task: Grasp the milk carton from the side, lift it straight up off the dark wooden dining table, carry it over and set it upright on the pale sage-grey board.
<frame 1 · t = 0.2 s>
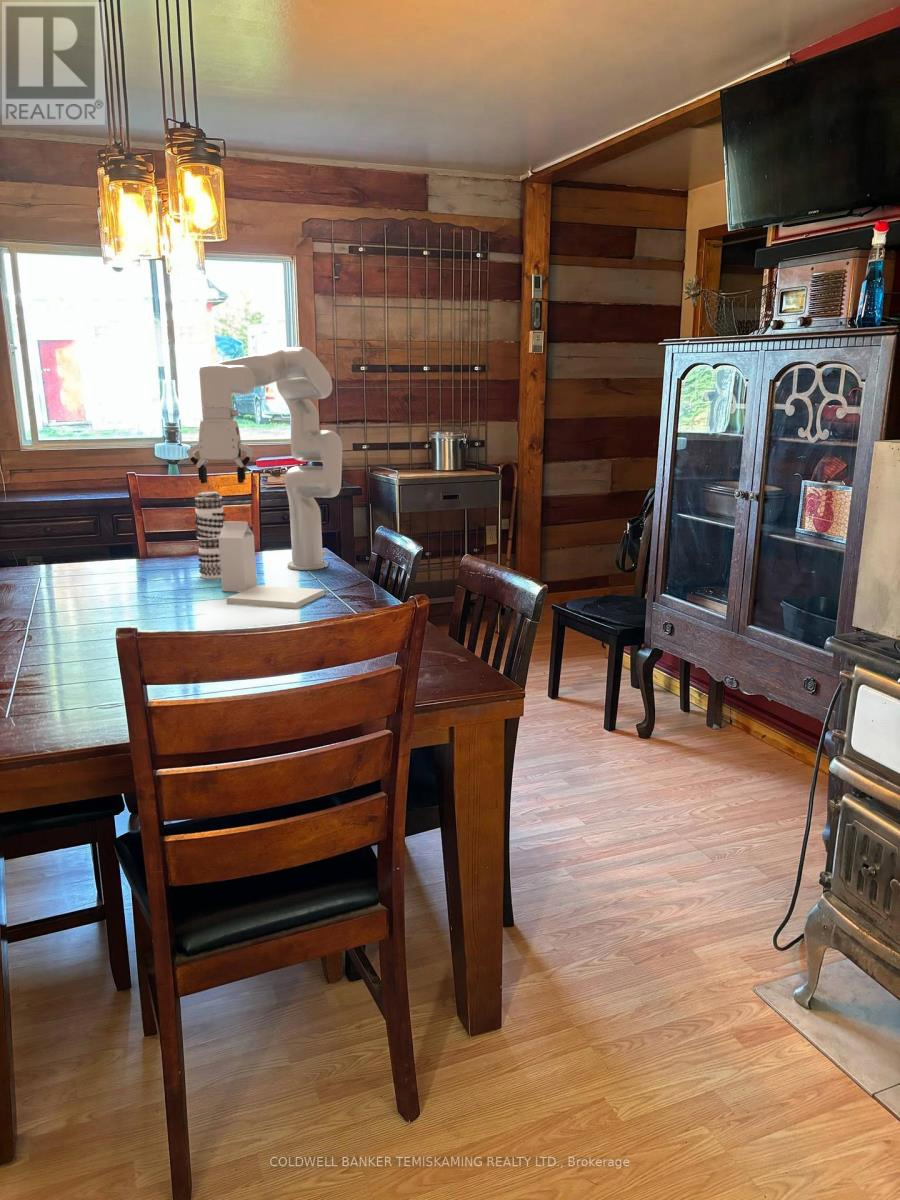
hand: (222, 482, 212), 30 cm above the table, tool pointing down, fingers open, 9 cm apart
serving board: (276, 599, 216), on the table
decorative candle: (214, 576, 247), on the table
milk carton: (239, 590, 228), on the table
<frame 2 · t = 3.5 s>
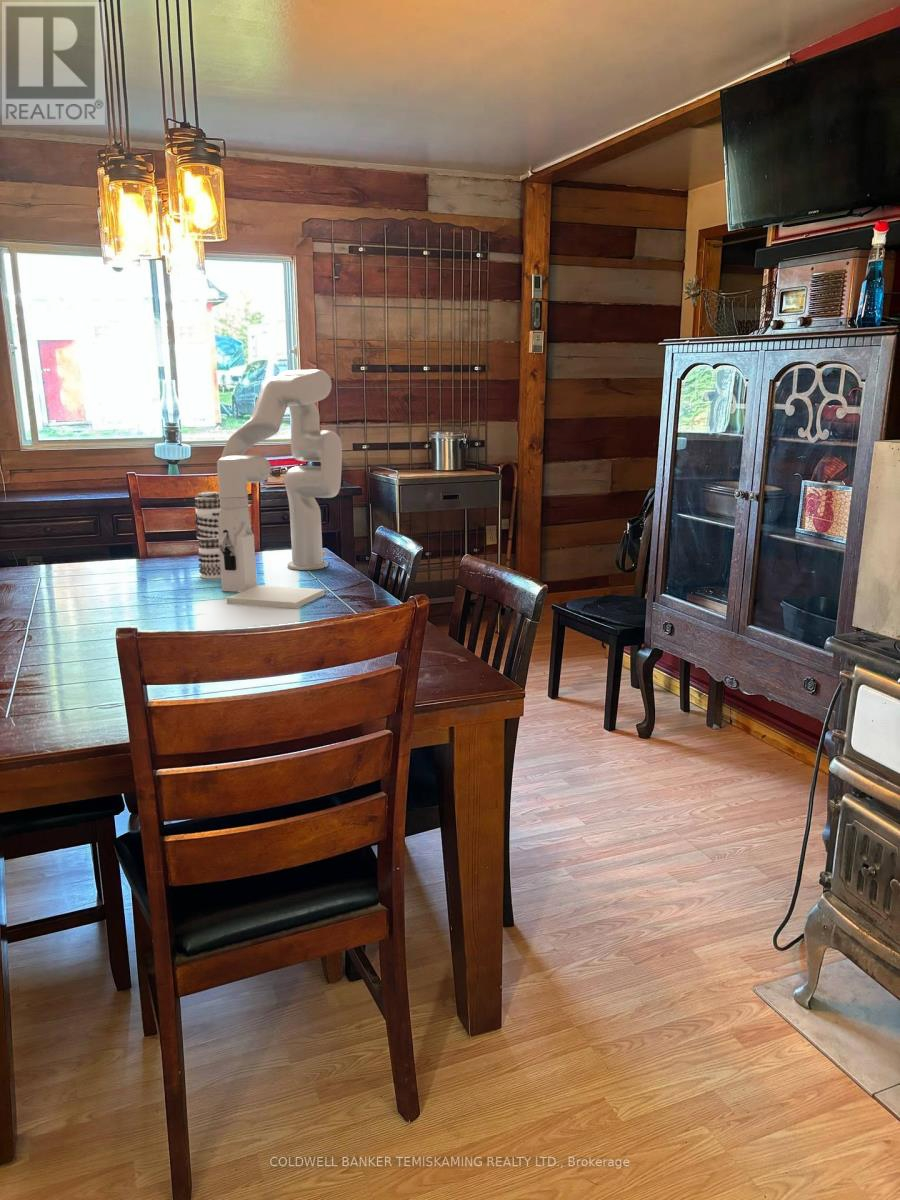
hand: (238, 566, 227), 6 cm above the table, tool pointing down, fingers closed on milk carton, 7 cm apart
milk carton: (239, 590, 228), on the table, touching gripper
everything else where it was.
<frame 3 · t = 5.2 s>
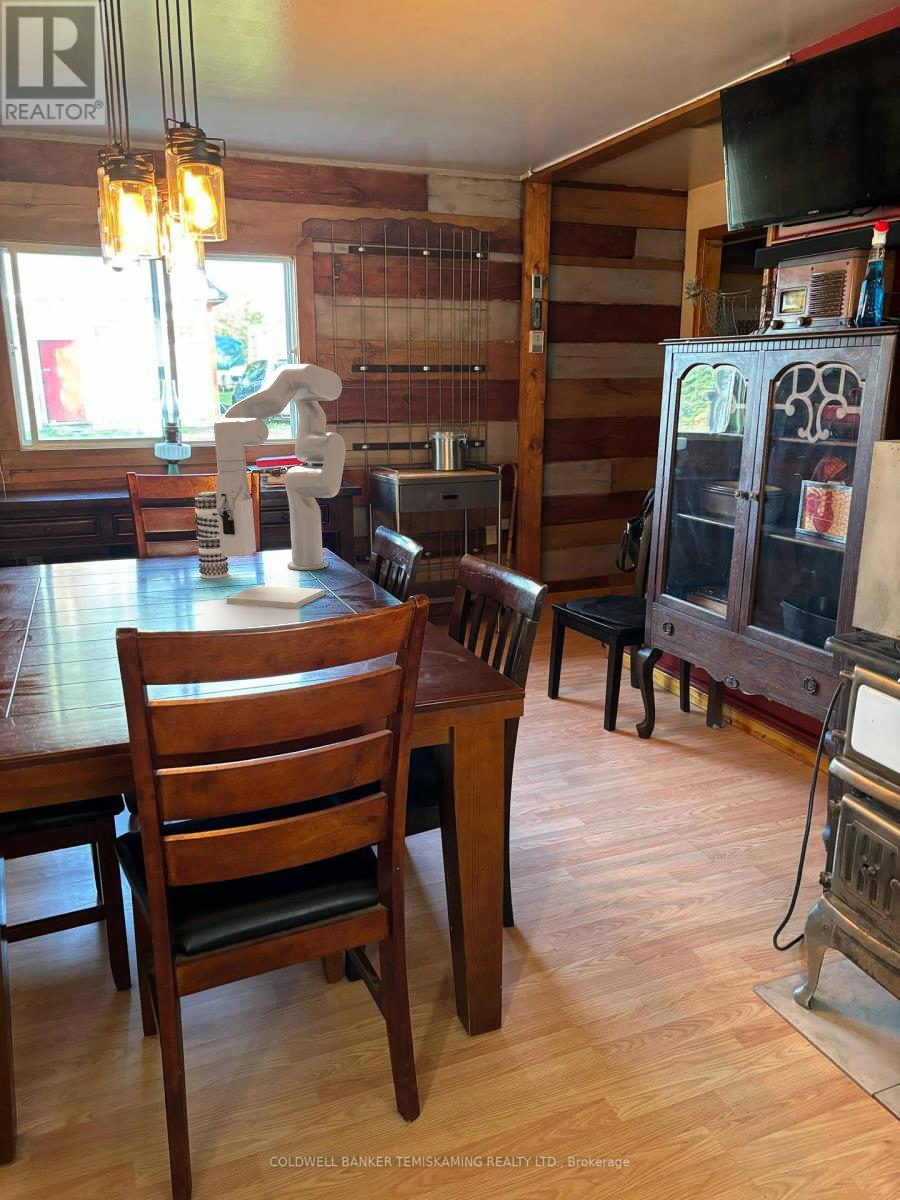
hand: (237, 531, 225), 16 cm above the table, tool pointing down, fingers closed on milk carton, 7 cm apart
milk carton: (238, 555, 226), point 10 cm above the table, touching gripper
everything else where it was.
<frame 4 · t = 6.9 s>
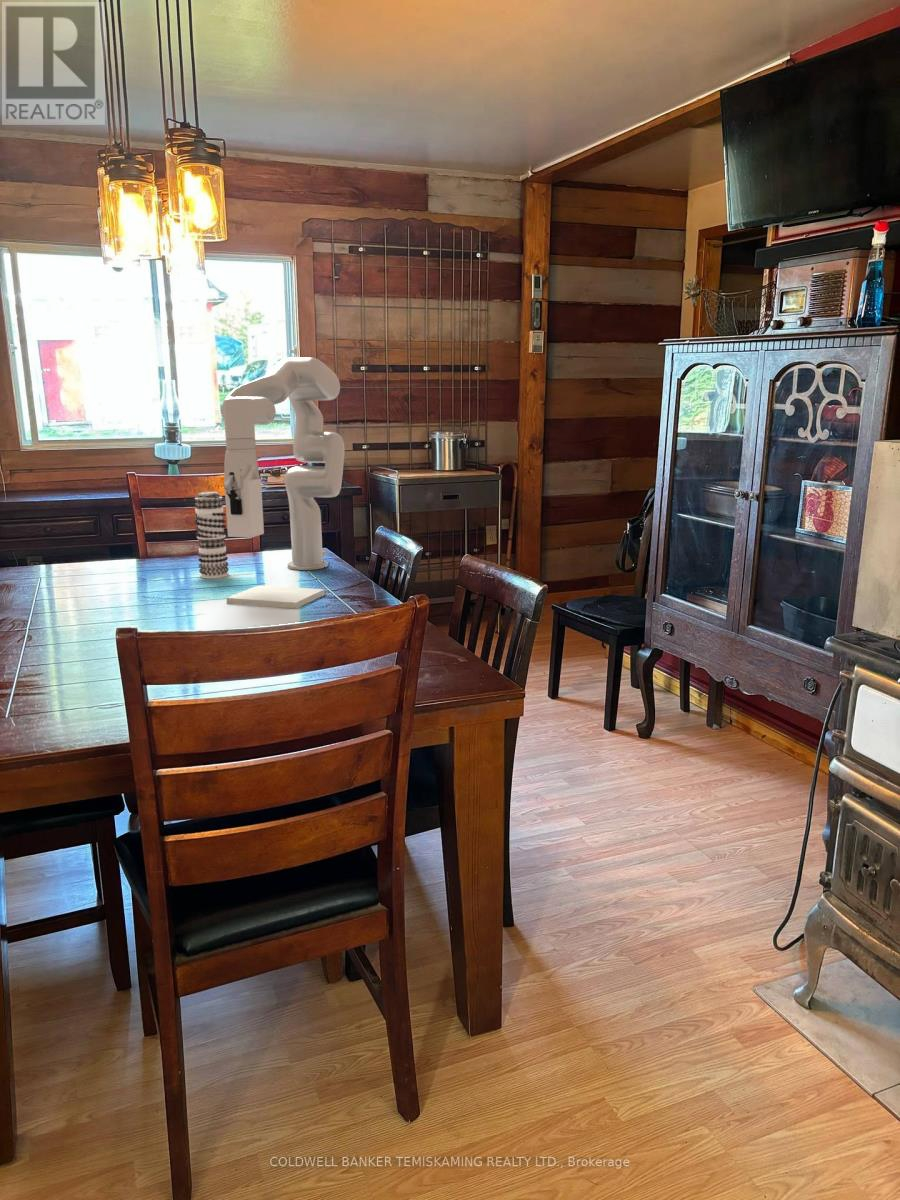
hand: (245, 512, 219), 22 cm above the table, tool pointing down, fingers closed on milk carton, 7 cm apart
milk carton: (246, 536, 221), point 15 cm above the table, touching gripper
everything else where it was.
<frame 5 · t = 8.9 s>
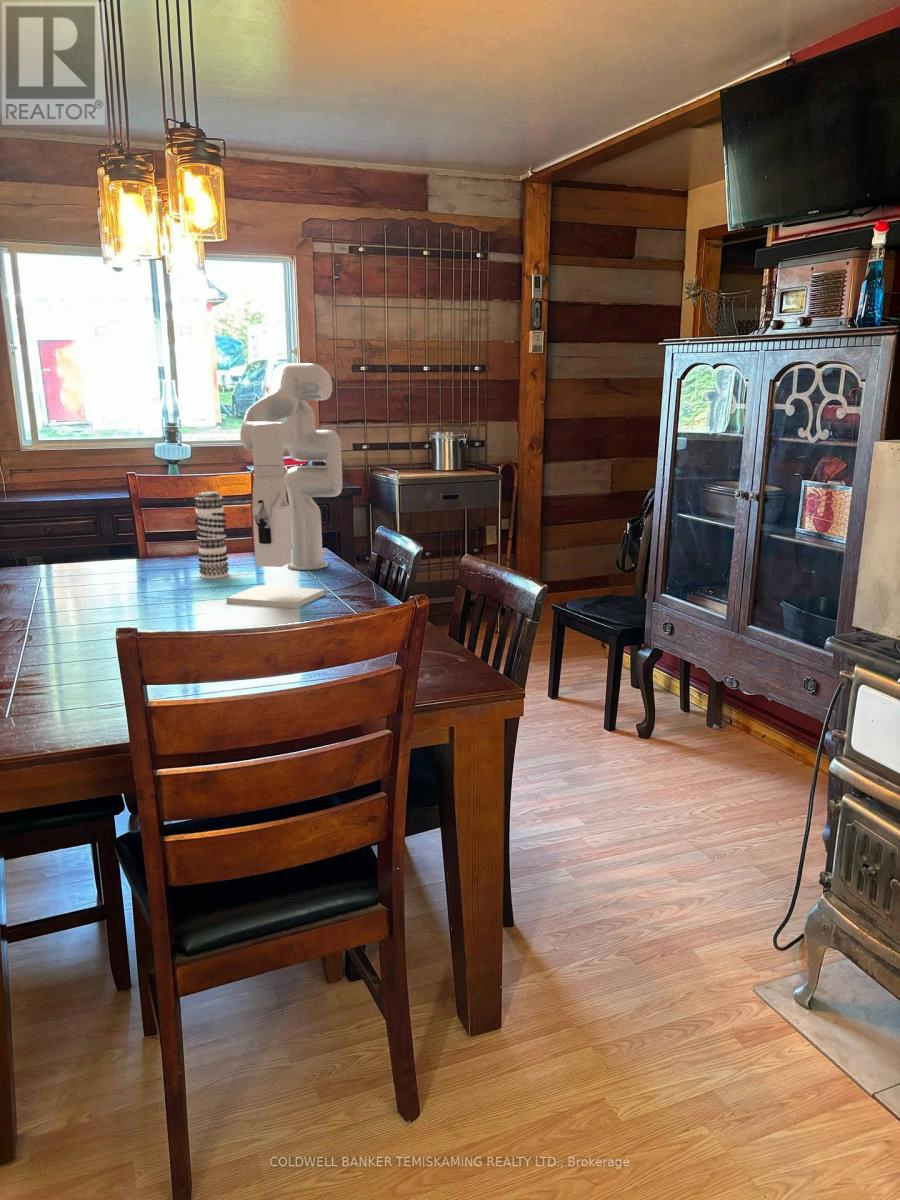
hand: (273, 540, 212), 16 cm above the table, tool pointing down, fingers closed on milk carton, 7 cm apart
milk carton: (274, 565, 214), point 9 cm above the table, touching gripper
everything else where it was.
when the fingers open (9 cm above the table, at t = 10.6 s): milk carton drops 1 cm, resting on serving board.
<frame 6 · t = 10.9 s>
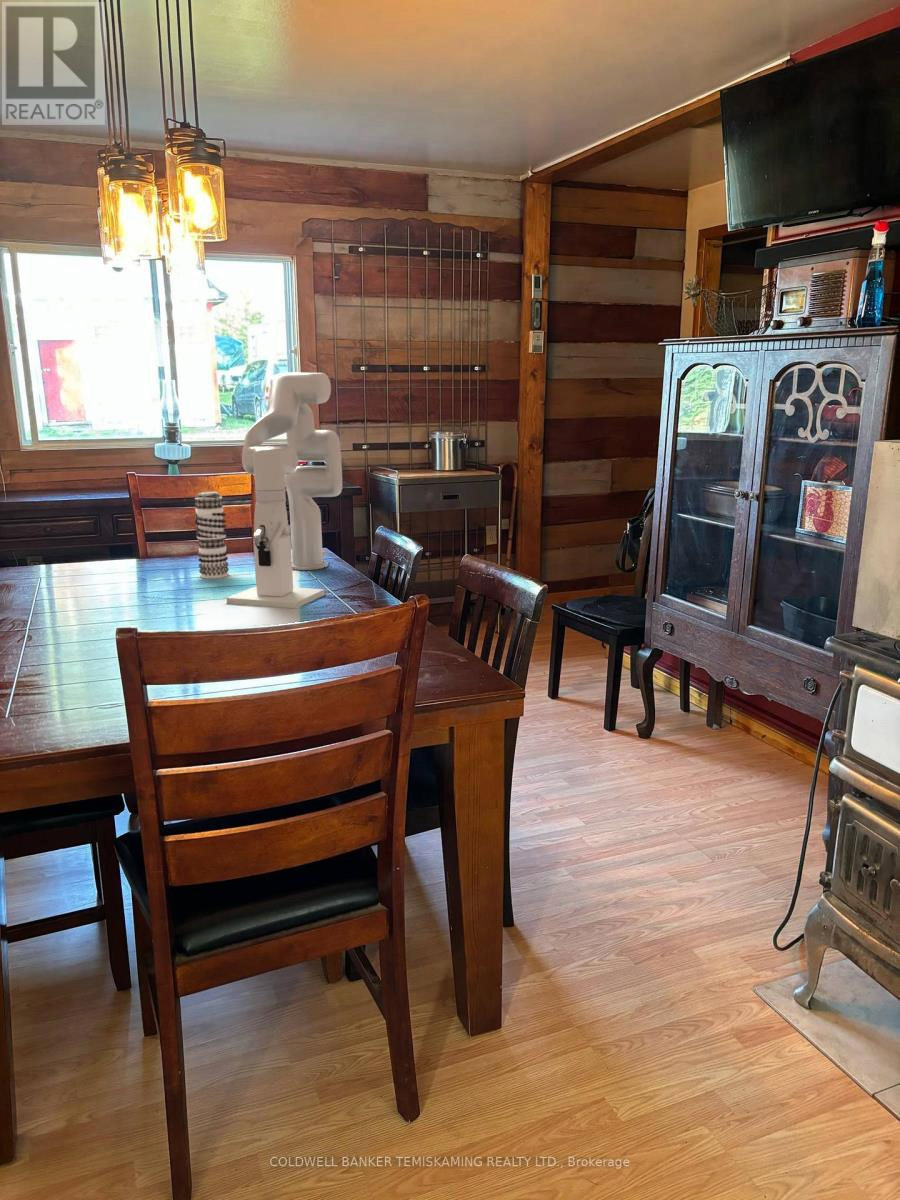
hand: (274, 562, 214), 10 cm above the table, tool pointing down, fingers open, 9 cm apart
milk carton: (275, 594, 215), point 1 cm above the table, touching serving board
everything else where it was.
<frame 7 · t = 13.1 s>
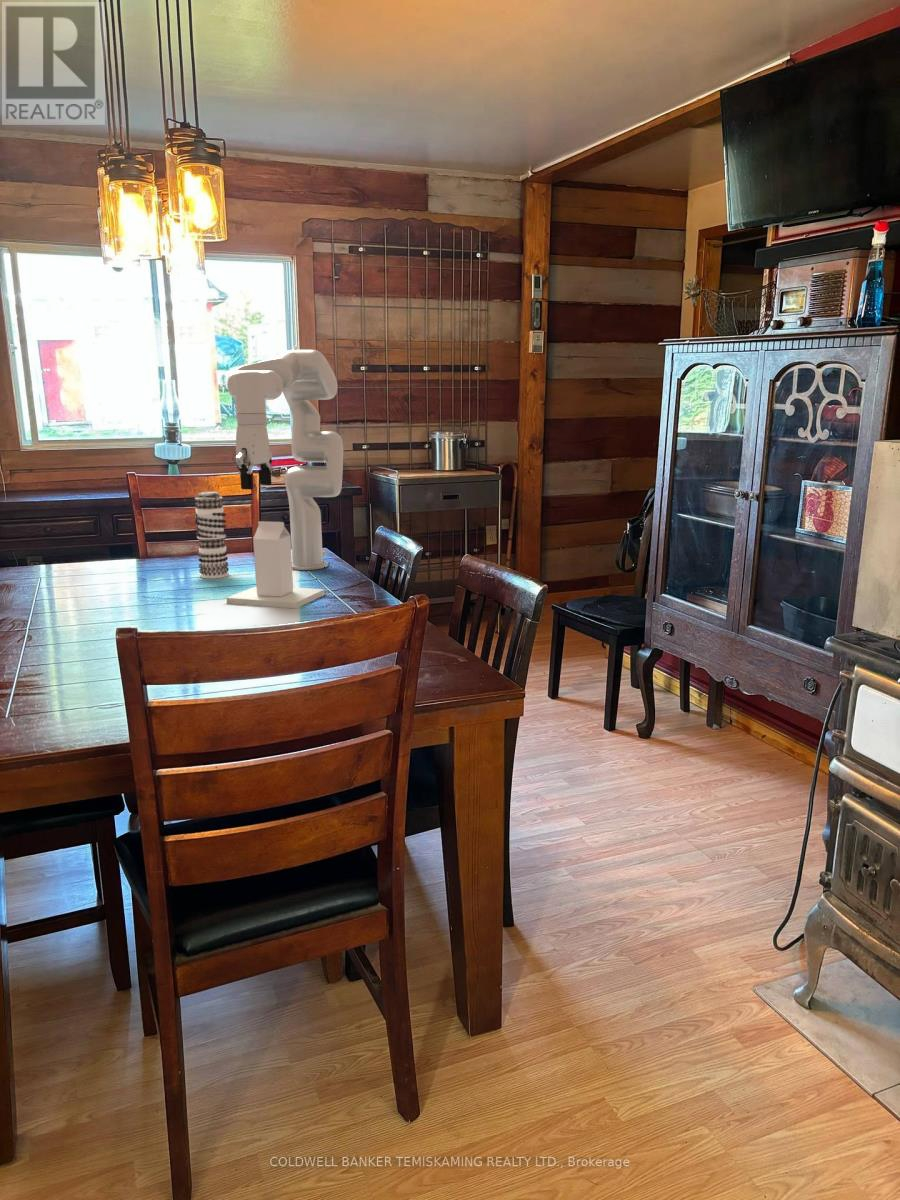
hand: (256, 486, 216), 29 cm above the table, tool pointing down, fingers open, 9 cm apart
nothing on the table moved.
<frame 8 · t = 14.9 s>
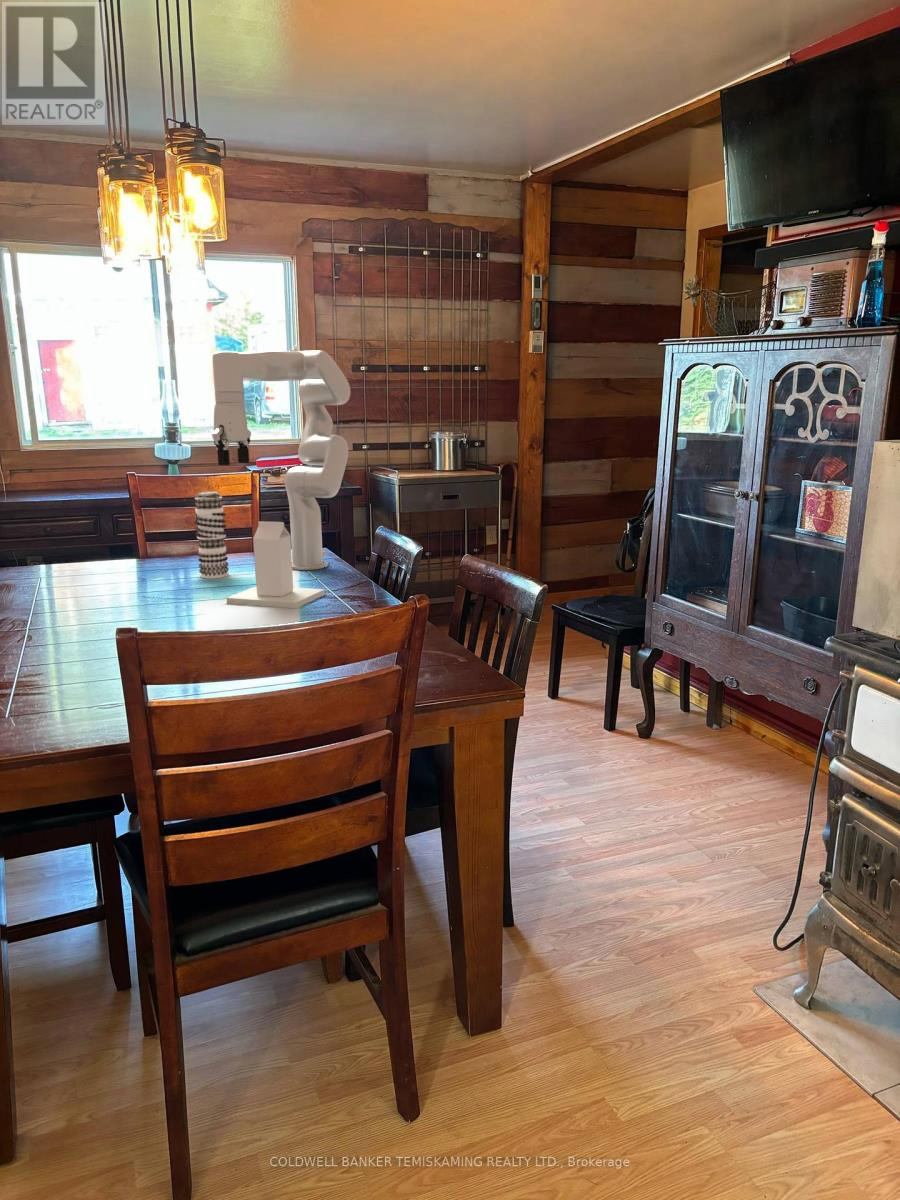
hand: (234, 463, 223), 34 cm above the table, tool pointing down, fingers open, 9 cm apart
nothing on the table moved.
at the end: milk carton inside the target area on the serving board (0.3 cm from its centre), point 1.3 cm above the serving board's base; milk carton tilted 0°; the gripper is holding nothing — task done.
